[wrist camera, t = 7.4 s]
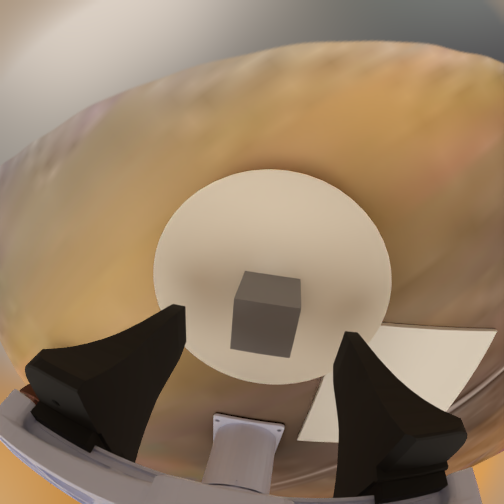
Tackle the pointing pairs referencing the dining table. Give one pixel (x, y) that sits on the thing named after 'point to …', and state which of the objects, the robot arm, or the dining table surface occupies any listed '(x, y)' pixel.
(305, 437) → the mat
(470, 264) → the dining table surface
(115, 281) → the dining table surface
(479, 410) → the dining table surface
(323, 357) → the lid
